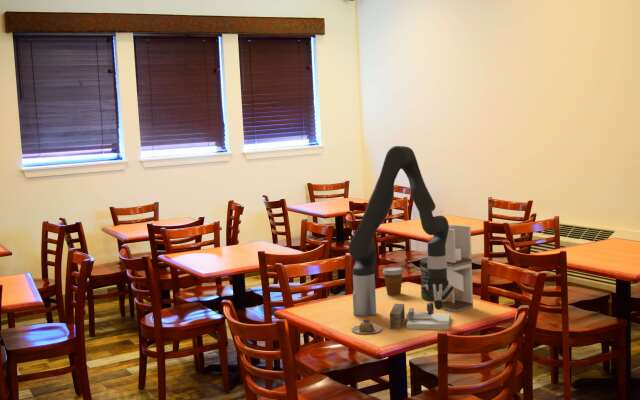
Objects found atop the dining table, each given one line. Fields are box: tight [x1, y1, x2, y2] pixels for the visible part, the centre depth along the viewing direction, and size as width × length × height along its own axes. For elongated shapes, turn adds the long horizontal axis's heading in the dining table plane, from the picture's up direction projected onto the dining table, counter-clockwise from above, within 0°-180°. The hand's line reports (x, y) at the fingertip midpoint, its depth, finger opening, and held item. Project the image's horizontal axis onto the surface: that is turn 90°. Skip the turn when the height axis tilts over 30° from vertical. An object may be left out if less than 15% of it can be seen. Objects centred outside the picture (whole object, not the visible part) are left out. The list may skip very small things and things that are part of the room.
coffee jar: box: [419, 257, 438, 302], centre depth 349 cm, size 10×8×19 cm
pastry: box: [351, 318, 383, 335], centre depth 305 cm, size 12×12×5 cm
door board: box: [406, 307, 451, 330], centre depth 310 cm, size 16×16×6 cm
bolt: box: [405, 302, 435, 320], centre depth 310 cm, size 11×3×6 cm, turn 78°
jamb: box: [389, 303, 406, 330], centre depth 313 cm, size 4×16×6 cm, turn 168°
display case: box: [432, 223, 474, 313], centre depth 331 cm, size 11×11×35 cm
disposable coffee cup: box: [382, 266, 404, 297], centre depth 362 cm, size 10×10×12 cm
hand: (438, 309), depth 309 cm, fingers closed
